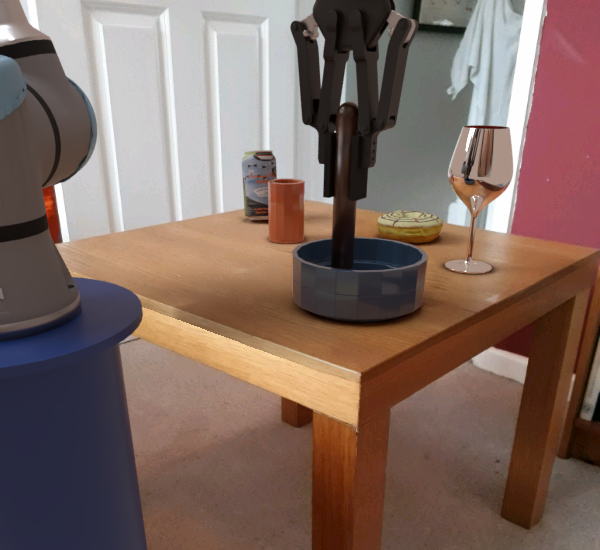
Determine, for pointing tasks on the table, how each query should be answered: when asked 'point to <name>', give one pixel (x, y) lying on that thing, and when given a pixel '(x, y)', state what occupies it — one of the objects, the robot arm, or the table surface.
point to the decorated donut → (409, 226)
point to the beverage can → (257, 182)
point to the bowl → (360, 280)
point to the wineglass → (479, 179)
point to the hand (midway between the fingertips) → (344, 196)
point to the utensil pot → (286, 210)
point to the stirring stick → (344, 189)
